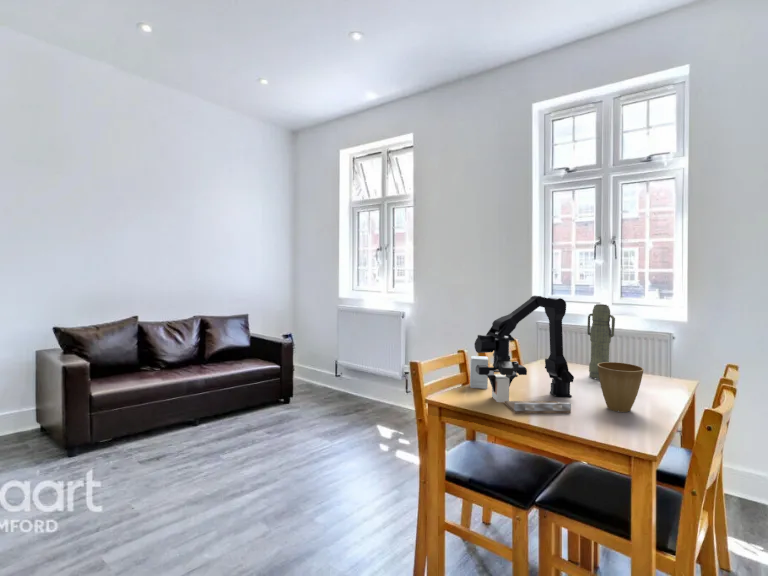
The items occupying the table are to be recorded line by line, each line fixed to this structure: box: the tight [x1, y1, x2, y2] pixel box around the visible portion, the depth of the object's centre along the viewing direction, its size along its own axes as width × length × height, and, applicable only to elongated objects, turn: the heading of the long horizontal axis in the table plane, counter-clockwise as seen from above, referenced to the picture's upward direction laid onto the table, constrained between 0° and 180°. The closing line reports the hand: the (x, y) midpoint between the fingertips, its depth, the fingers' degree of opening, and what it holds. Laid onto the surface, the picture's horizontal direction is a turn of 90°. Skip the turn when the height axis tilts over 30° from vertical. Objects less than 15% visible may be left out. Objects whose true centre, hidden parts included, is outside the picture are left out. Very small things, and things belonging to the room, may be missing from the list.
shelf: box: [503, 400, 572, 414], centre depth 164 cm, size 20×12×3 cm, turn 93°
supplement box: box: [469, 355, 489, 390], centre depth 194 cm, size 7×7×13 cm
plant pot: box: [598, 361, 644, 413], centre depth 163 cm, size 15×15×16 cm
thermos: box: [586, 303, 616, 380], centre depth 213 cm, size 9×12×35 cm
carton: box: [491, 374, 510, 403], centre depth 174 cm, size 4×7×9 cm, turn 3°
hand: (500, 391), depth 174 cm, fingers closed on carton, 4 cm apart
